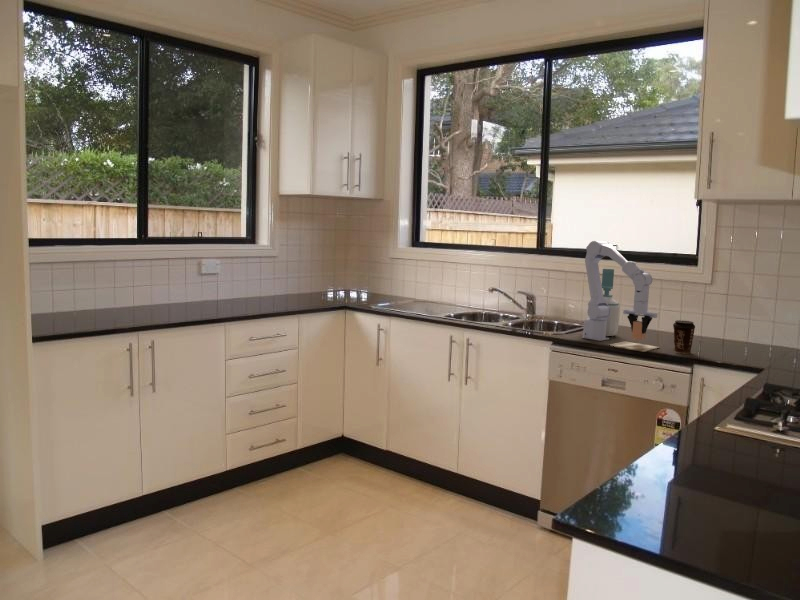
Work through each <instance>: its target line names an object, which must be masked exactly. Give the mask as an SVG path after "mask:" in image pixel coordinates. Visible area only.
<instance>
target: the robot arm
mask: <svg viewBox="0 0 800 600" xmlns="http://www.w3.org/2000/svg"><path fill="white" fill-rule="evenodd" d="M605 257H609V258H610V259H611V260H612V261H613V262H615V263H616V264H618V265H619V266H620V267H621V271H622V272H623V273H624V274H625V275H626V276H627V277H629V279H631V280H632V284H633V286H634V297H633V309H627V308H624V309H623V312H622V313H623V315H627V319H628V322H629V324H630V329H631V333H632V332H633V321H638V318H639V316H640V317H641V321H642V334H644V333H647V330H648V327H649V325H650V323H651V322H652V320H653V319H657V318H658V314H659V313H657V312H653V311H648V309H649V297H650V296H649V294H650V285H652V282H653V277H652V275H651V274H650V272H645V270H644V269H643V268H642V269H641V267H639V266H638V265H637V262H635V261H632V260H629V261H628V260H627V259H626V258H625V257H624V256H623V255H622V254H621V252H619V251H618V250H617V249H616V248H615V247H614V245H613V244H611V243H610V242H609V241H606V240H603V241H602V240H601V241H599V240H597V241H596V240H592V241H590V242H589V244H588V245H587V246H586V255H585V257H584V258H585V259H584V263H585V268H586V277H587V282H588V288H589V295H590V300H589V301H588V303H587V311H586V312H587V316H588V318H586V319H585V320H584V322H583V329H582V330H583V332H582V336H581V338H583V339H586V340H587V339H588V340H592V341H599V342H601V341H606V340H610V337H606V323H607V317H608V316H609V315H610V308H609V306H608V304H607V301H606V300H605V298H604V297H603V294H604V293H603V291H604V290H603V288H602V278H601V274H600V267H599V266H600V265H599V262H601V260H602V259H603V258H605Z"/></svg>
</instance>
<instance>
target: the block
mask: <svg viewBox="0 0 800 600" xmlns="http://www.w3.org/2000/svg"><path fill="white" fill-rule="evenodd" d="M631 333H632V334H631V335H632V336H631V338H632V339H636V340H644V339H646V333H647V332H646V333H644V334H642V320H638V319H637V321H633V332H632V331H631Z"/></svg>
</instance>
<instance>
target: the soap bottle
mask: <svg viewBox="0 0 800 600" xmlns="http://www.w3.org/2000/svg"><path fill="white" fill-rule="evenodd" d="M614 276H615V269H614V268H602V275H601V285H602V291H604V293H603V297H604V298H605V300H606V301H607V304H608V306H609V308H610V315H609V316H608V317H607V323H606V336H612V337H614V336H615V335H617V333H618V331H619V323H620V303H619V302H618V301H617V300H615V299H614V298H613V294H610V292H611V291H612V290H614Z"/></svg>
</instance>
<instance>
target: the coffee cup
mask: <svg viewBox="0 0 800 600" xmlns="http://www.w3.org/2000/svg"><path fill="white" fill-rule="evenodd" d="M672 327H673V343H674V349H673V352H674V353H675V352H676V354H680V353H683V354H682V355H687V354H691V351H692V347H693V340H694V334H695V329H696V325H695V324H694V322H693V321H689V320H683V319H682V320H675V321H674V323H673V326H672Z"/></svg>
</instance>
